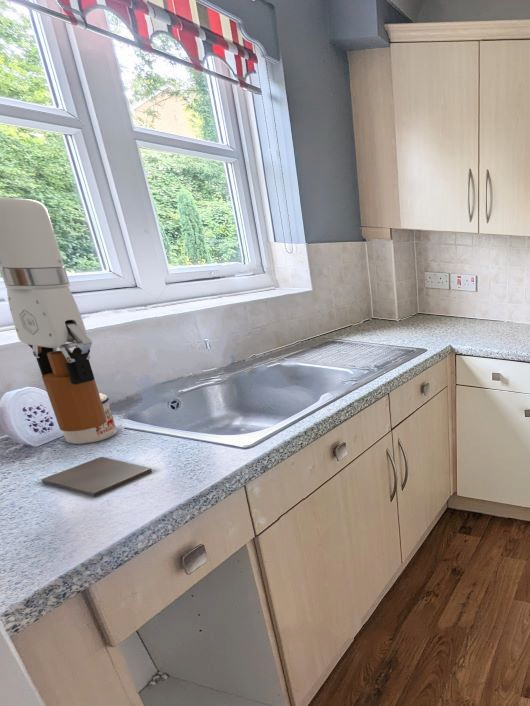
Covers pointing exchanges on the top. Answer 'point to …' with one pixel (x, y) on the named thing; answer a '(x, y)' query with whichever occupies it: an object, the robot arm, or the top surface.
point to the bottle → (72, 397)
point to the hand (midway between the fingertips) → (69, 378)
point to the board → (96, 476)
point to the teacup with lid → (97, 432)
